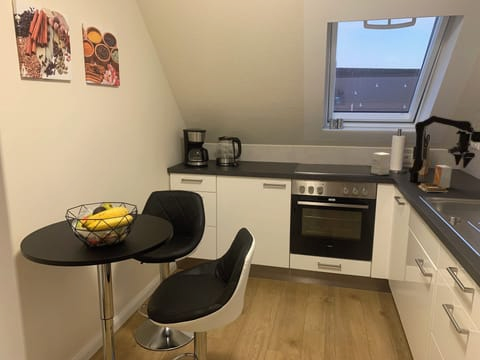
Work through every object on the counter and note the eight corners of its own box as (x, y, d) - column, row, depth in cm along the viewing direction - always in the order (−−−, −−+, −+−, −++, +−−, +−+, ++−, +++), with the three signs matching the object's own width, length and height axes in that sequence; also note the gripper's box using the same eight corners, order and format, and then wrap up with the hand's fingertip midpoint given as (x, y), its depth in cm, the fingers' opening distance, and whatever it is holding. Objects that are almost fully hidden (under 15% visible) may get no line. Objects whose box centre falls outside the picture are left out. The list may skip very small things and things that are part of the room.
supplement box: (380, 171, 279) (382, 152, 276) (389, 174, 271) (391, 153, 268) (370, 172, 276) (372, 152, 273) (379, 175, 268) (381, 154, 265)
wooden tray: (418, 186, 235) (418, 182, 235) (438, 187, 234) (439, 183, 233) (426, 192, 222) (426, 188, 221) (447, 193, 220) (448, 189, 219)
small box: (432, 184, 241) (435, 164, 238) (442, 184, 241) (445, 165, 238) (439, 187, 233) (442, 167, 230) (449, 187, 233) (452, 167, 230)
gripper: (443, 139, 238) (440, 163, 241) (457, 143, 220) (453, 169, 223) (461, 139, 237) (458, 164, 240) (477, 143, 219) (473, 169, 222)
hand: (460, 166), depth 231 cm, fingers open, 9 cm apart
